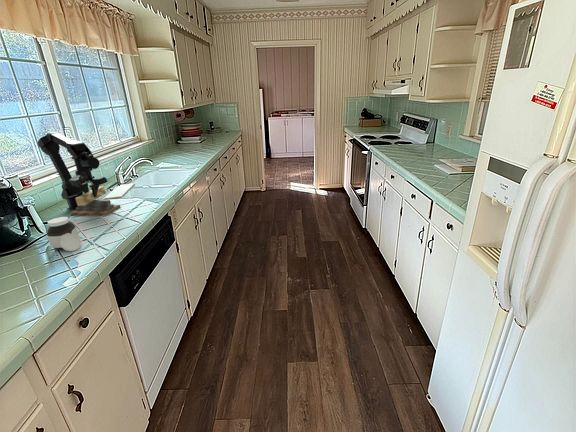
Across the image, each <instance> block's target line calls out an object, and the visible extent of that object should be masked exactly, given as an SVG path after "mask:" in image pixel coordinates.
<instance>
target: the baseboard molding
mask: <svg viewBox="0 0 576 432" xmlns="http://www.w3.org/2000/svg"><path fill="white" fill-rule="evenodd" d="M119 184H120V186H119ZM135 185H136V183H135V182H127V181H125V182H124V184H123V183H120V182H119V183H118V184H117V186H116V187H115V188H114V189H113V190H112V191H111V192H109V193H108V194H107V195H106V196H105V197H103V198H102V200H113V199H122V197H124V195H126V194H127V193H128V192H129V191H130V190H131V189H132V188H133V187H134V186H135Z"/></svg>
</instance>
